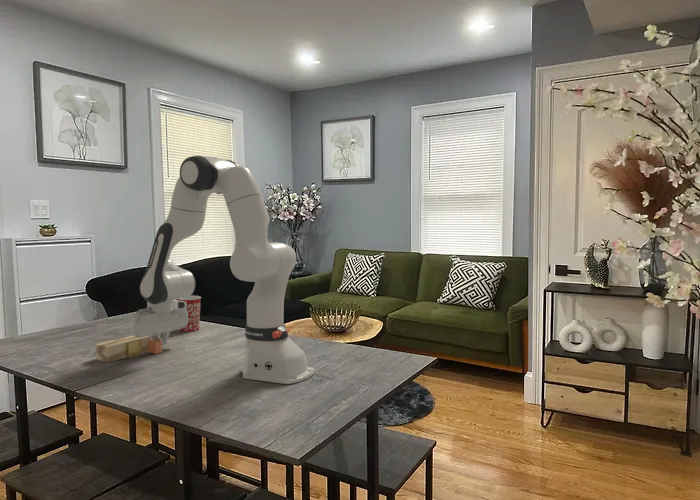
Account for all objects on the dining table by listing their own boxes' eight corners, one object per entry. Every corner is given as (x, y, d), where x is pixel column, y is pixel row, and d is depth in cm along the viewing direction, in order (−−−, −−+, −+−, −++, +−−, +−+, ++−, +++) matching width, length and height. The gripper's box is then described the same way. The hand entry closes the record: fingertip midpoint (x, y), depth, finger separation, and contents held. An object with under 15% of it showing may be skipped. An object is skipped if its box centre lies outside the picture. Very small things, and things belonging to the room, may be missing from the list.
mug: (206, 329, 202) (205, 297, 201) (186, 333, 195) (185, 300, 194) (188, 325, 210) (188, 293, 209) (169, 328, 203) (168, 296, 202)
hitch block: (150, 350, 170) (150, 336, 170) (107, 362, 156) (107, 347, 156) (139, 348, 173) (138, 334, 173) (96, 359, 159) (95, 344, 159)
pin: (141, 354, 166) (141, 340, 165) (129, 358, 161) (128, 343, 161) (112, 348, 173) (112, 334, 173) (100, 351, 169) (99, 338, 168)
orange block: (161, 352, 168) (161, 340, 167) (156, 353, 166) (155, 342, 165) (154, 350, 170) (153, 339, 169) (148, 352, 168) (148, 340, 167)
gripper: (140, 311, 159) (141, 353, 160) (190, 301, 176) (191, 339, 177) (128, 309, 162) (129, 350, 163) (178, 300, 179) (179, 337, 180)
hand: (162, 344), depth 170 cm, fingers closed
